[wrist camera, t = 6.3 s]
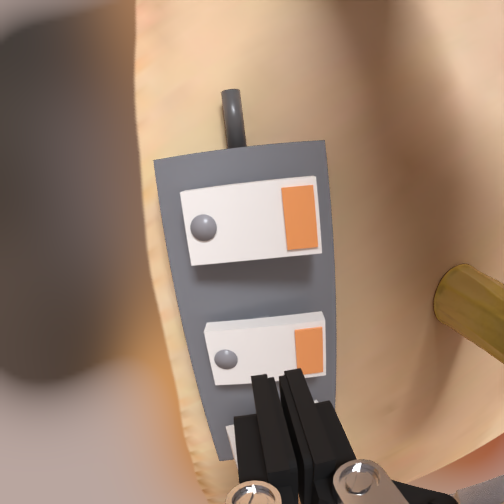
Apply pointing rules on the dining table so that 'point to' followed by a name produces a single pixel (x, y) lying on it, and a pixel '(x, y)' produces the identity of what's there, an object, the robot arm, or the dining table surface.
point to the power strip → (246, 263)
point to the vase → (473, 307)
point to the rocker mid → (266, 347)
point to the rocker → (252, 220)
